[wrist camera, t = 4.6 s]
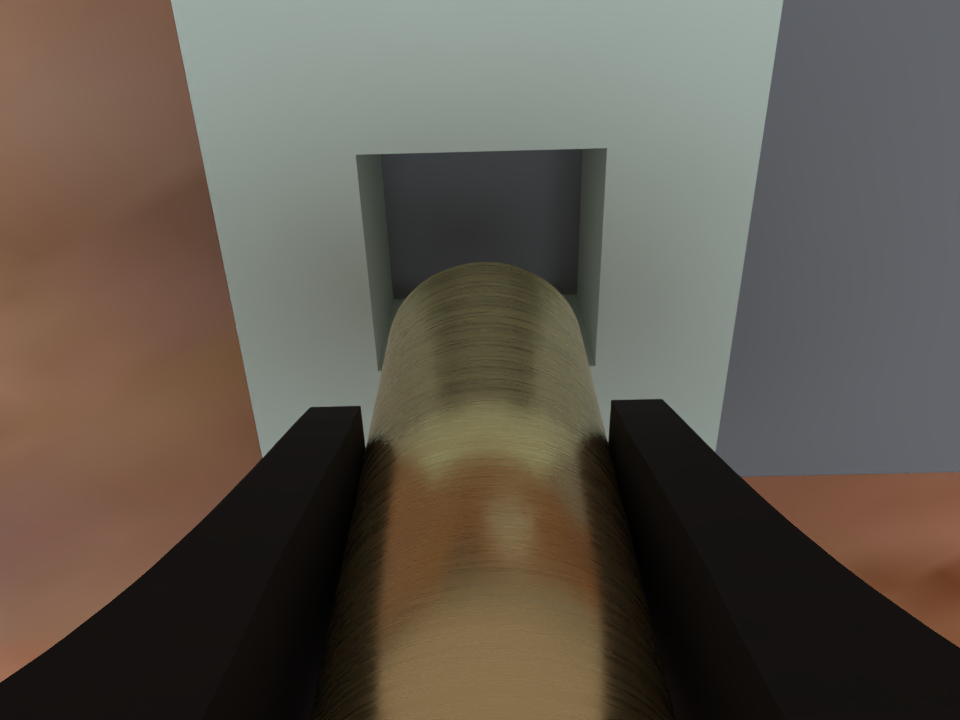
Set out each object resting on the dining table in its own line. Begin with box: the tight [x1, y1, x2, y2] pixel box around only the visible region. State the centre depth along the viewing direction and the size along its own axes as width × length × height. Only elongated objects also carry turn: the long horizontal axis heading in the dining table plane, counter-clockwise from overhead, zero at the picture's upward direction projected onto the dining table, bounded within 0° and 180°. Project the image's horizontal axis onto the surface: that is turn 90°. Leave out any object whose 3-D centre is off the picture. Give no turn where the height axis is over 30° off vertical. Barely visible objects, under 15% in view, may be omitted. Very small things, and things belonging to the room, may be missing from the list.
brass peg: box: [310, 262, 676, 720], centre depth 8 cm, size 3×3×10 cm
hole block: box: [171, 0, 783, 458], centre depth 17 cm, size 12×10×4 cm
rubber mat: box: [381, 0, 960, 477], centre depth 19 cm, size 15×20×1 cm
